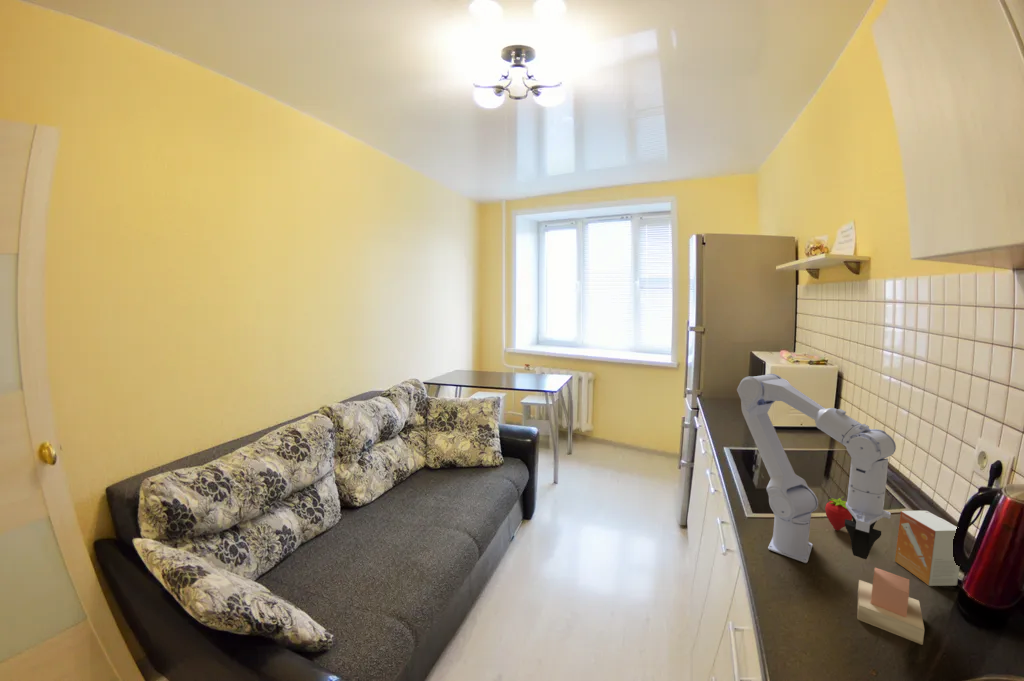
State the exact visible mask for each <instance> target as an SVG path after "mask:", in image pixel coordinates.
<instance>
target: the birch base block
mask: <svg viewBox="0 0 1024 681" xmlns="http://www.w3.org/2000/svg"><path fill="white" fill-rule="evenodd" d="M857 585H858V587H857V614H856V615H857V620H858V621H860V622H863V623H865V624H867V625H868V624H869V625H871V626H873V627H877V628H879V629H881V630H884V631H886V632H889V633H891V634H893V635H896V636H899V637H901V638H904V639H906V640H908V641H911V642H914V643H916V644H918V645H924V637H925V625H924V620H923V614H922V609H921V603H920V600H919V599H915V598H913V597H910V596H909V599H908V608H907V616H906V617H903V616H901V615H898V614H896V613H894V612H891V611H889V610H886V609H884V608H881V607H879V606H876V605H874V604H871V596H872V586H873V583H871V582H868V581H867V582H866V581H864V580H862V579H858V584H857Z"/></svg>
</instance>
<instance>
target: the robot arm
mask: <svg viewBox="0 0 1024 681" xmlns="http://www.w3.org/2000/svg"><path fill="white" fill-rule="evenodd" d="M736 391H737V393H738V396H739V399H740V403H741V405H740V408H741V413H742V415H743V418H744V420H745V422H746V425H747V427H748V430H749V432H750V434H751V436H752V439H753V441H754V444H755V446H756V448H757V450H758V453H759V455H760V457H761V460H762V462H763V464H764V467H765V469H766V471H767V474H768V476H769V478H770V480H769V482H768V484H767V486H766V488H765V489H766V493H767V495H768V503H769V507H770V509H771V511H772V513H773V516H774V521H773V530H772V532H773V533H772V537H771V540H770V543H769V544H768V547H767V549H768V550H769V551H772V552H774V553H776V554H779V555H782V556H785V557H788V558H789V559H793V560H796V561H798V562H802V563H804V564H808V561H809V559H810V555H811V552H812V548H813V543H812V542H810V541H809V540H810V529H811V528H810V527H811V518H812V513H813V512H815V511H817V509H818V507H819V499H818V497H817V495H816V494H815V492H814V491H813V490H812V489H811V488H810V487H809V486H808V483H807V482H806V480H805V479H804V478H802V477H801V476H799V475H797V473H795V471H794V468H793V466H792V464H791V462H790V460H789V458H788V456H787V453H786V451H785V449H784V447H783V445H782V441H781V440H780V438H779V435H778V433H777V431H776V429H775V426H774V424H773V423H772V421H771V417H770V416H769V411H770V409H771V407H772V405H773V404H774V403H776V402H783V403H784V404H786V405H788V406H790V408H791V407H792V408H793V409H795V410H796V411H798V412H800V413H802V414H804V415H805V416H807V417H809V418H810V419H812V420H814V423H815V427H816V428H817V429H818V430H820V431H821V432H823V433H824V434H826V435H828V436H829V437H830V438H832V439H833V440H835V441H836V442H838V443H840V444H841V445H842V446H845V448H846V451H847V453H848V454H849V456H850V467H849V468H850V470H849V479H848V480H849V482H848V490H847V491H848V492H847V500H846V501H847V502H846V508H847V509H848V510H849V512H850V513H851V515H852V520H847V519H845V527H844V528H845V529H846V530H847V532H848V536H849V538H850V539H849V540H850V545H851V546H850V547H851V550H852V555H853V556H854V557H858V558H860V559H863V560H867V559H868V557H869V555H870V553H871V550H872V547H873V545H874V544H875V542H877V540H878V539H880V538H881V536H882V530H879V529H875V528H874V527H875V525H876V523H877V522H878V521H879V520H881V519H883V518H885V519H891V517H892V516H891V515H892V514H891V512H890V511H887V510H884V507H885V506H884V505H885V497H886V488H887V487H886V486H887V479H888V478H887V477H888V466H889V457H891V456H893V455H894V454H895V453H896V450H897V445H896V442H895V440H894V438H892V436H891V435H889V434H888V433H887V432H886V431H885V430H882V429H877V428H870V426H869V425H867V424H865V423H863V424H862V423H860V422H859V421H857V420H856V419H854V418H852V417H851V416H849V415H847V411H846V410H844V409H842V408H838V409H837V407H836V408H835V407H829V408H826V407H823V406H822V405H821V404H819V403H818V402H816V401H815V400H813V399H812V398H810V397H809V396H808V395H806V394H804V393H803V392H802V391H800V390H799V389H797V388H796V387H794V386H793V385H792V384H791V383H790V382H789V381H788V380H787V379H785V378H782V376H781V375H778V374H776V373H766V374H763V375H757V376H745V377H743V378H742V379H741V380H740V382H739V384H738V386H737V388H736Z"/></svg>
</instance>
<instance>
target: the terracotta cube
mask: <svg viewBox="0 0 1024 681" xmlns="http://www.w3.org/2000/svg"><path fill="white" fill-rule="evenodd" d="M873 571H874V572H873V578H872V584H873V586H872V596H871V604H874V605H876V606H879V607H881V608H884V609H886V610H889V611H891V612H894V613H896V614H898V615H901V616H903V617H906V616H907V608H908V599H909V597H910V579H909V578H906V577H904V576H902V575H898V574H895V573H893V572H890V571H886V570H884V569H881V568H877V567H874V570H873Z"/></svg>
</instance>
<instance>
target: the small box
mask: <svg viewBox="0 0 1024 681" xmlns="http://www.w3.org/2000/svg"><path fill="white" fill-rule="evenodd" d="M898 524H899V525H898V530H897V532H898V533H897V540H896V547H895V548H896V549H895V557H894V562H895V563H896V564H898V565H899V566H901V567H902V568H904V569H905V570H906V571H908V572H909V573H911V574H913V575H914V577H916V578H918V579H919V580H920V581H922V582H924V583H925V584H926V585H927V586H929V587H933V586H935V587H938V586H939V587H941V586H942V587H944V586H945V587H946V586H947V587H949V586H950V587H951V586H952V587H953V586H955V587H956V586H957V585H958V581H959V573H960V572H959V571H960V566H958V565H956V563H955V561H954V557H953V539H954V536H955V533H956V529H957V527H958V526H956V525H955V524H952V523H951V522H949V521H947V520H946V519H944V518H941V517H939V516H938V515H936V514H934V513H932V512H930V511H928V510H901V511H900V516H899V523H898Z"/></svg>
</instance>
